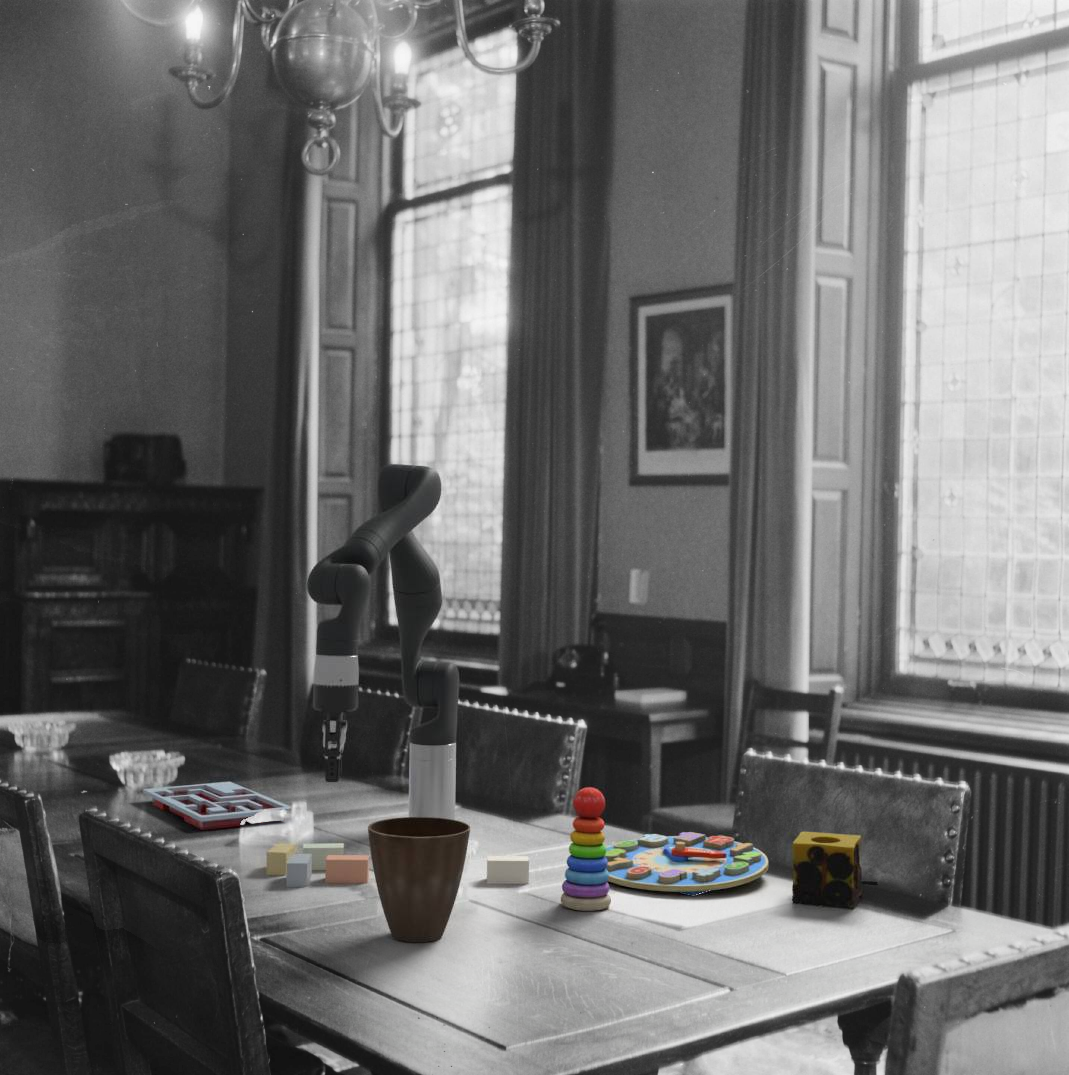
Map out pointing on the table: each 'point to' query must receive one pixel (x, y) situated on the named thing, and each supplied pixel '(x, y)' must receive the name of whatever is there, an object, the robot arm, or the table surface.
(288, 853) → the brick ochre
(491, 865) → the brick cream
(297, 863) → the brick slate
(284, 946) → the table surface
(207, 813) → the maze game
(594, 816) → the stacking toy
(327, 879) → the brick terracotta
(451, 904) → the plant pot
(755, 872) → the shape sorting clock
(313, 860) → the brick sage
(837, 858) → the yellow gear box toy
